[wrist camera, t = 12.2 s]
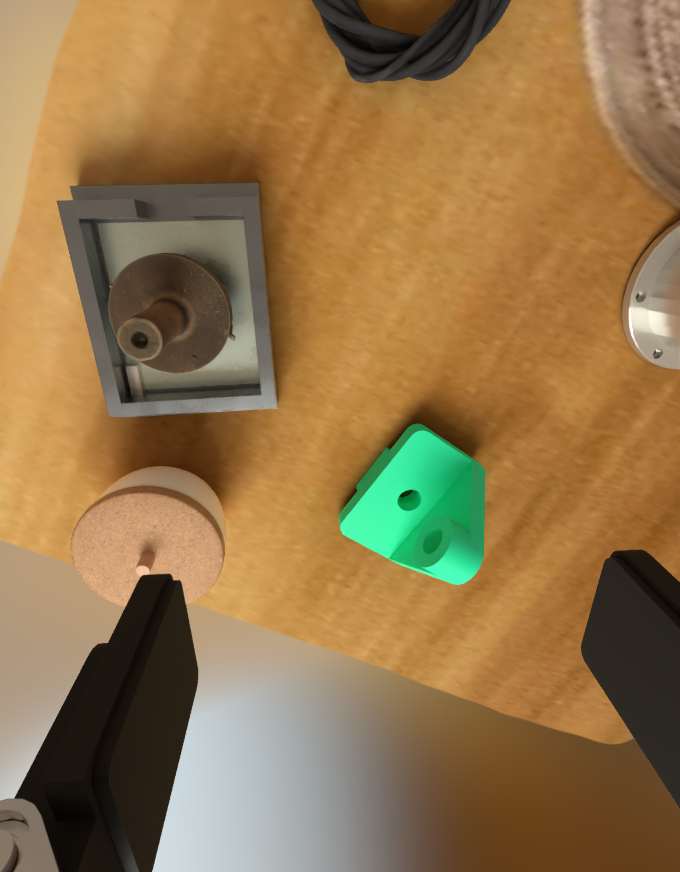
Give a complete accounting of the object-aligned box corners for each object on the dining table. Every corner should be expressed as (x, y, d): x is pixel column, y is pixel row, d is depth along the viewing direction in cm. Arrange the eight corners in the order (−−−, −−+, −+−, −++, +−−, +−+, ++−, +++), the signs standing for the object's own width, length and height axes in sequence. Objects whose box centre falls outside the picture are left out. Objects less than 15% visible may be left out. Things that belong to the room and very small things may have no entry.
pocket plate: (259, 184, 32) (256, 178, 28) (277, 403, 38) (277, 419, 35) (77, 187, 31) (52, 181, 27) (128, 412, 37) (112, 430, 34)
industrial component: (109, 307, 33) (21, 342, 22) (168, 223, 31) (105, 216, 20) (219, 388, 36) (191, 455, 25) (278, 317, 34) (275, 355, 23)
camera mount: (411, 414, 40) (450, 468, 31) (473, 456, 43) (527, 519, 33) (332, 514, 43) (346, 591, 34) (395, 548, 46) (423, 628, 36)
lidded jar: (253, 474, 41) (245, 538, 32) (206, 565, 44) (187, 644, 35) (132, 425, 38) (87, 481, 29) (91, 526, 41) (40, 603, 32)
